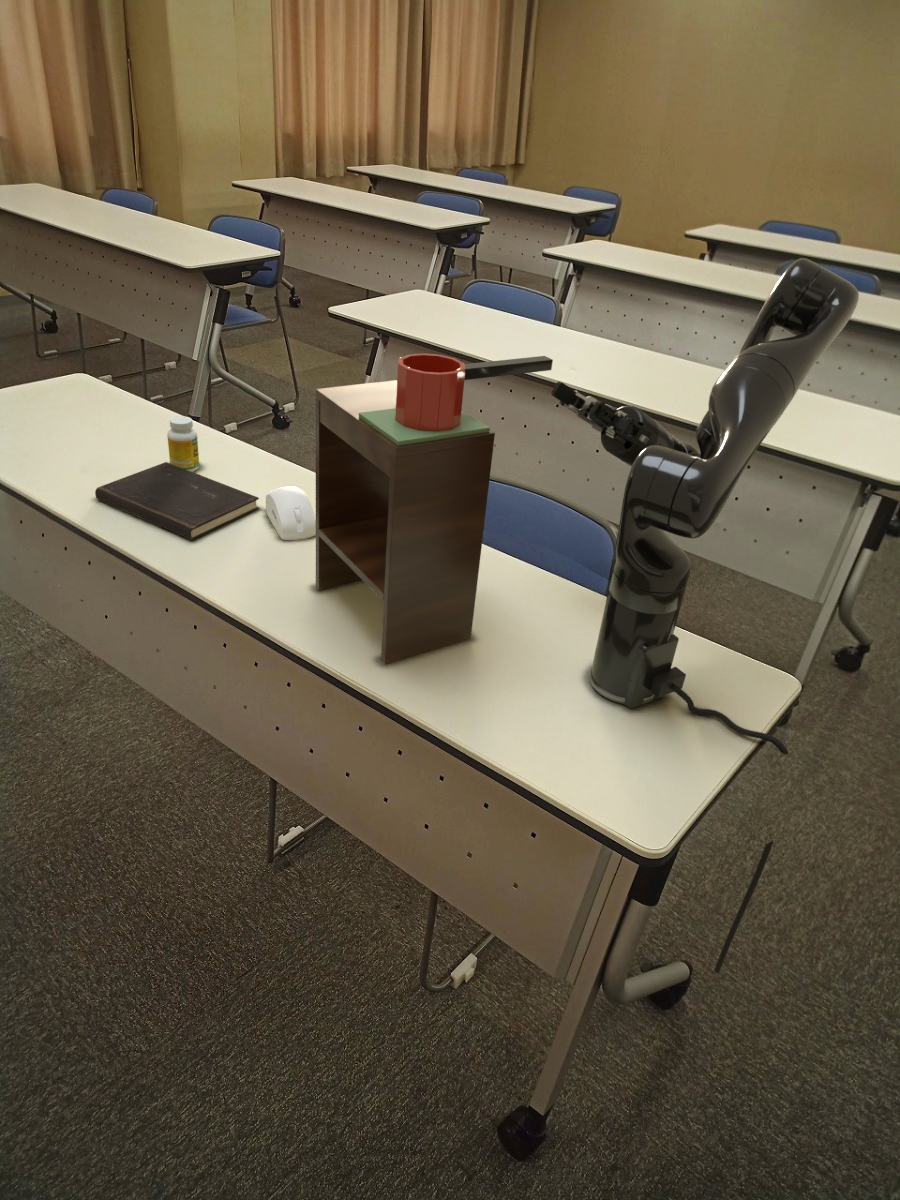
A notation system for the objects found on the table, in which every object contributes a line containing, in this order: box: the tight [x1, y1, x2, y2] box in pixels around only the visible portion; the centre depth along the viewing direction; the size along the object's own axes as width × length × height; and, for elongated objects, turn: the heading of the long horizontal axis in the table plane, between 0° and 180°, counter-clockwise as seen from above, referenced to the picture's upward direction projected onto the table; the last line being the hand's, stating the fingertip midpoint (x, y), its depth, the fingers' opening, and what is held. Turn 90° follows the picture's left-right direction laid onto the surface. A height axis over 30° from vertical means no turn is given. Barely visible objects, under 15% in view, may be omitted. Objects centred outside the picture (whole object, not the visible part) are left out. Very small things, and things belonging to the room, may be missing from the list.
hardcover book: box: [94, 461, 260, 541], centre depth 148 cm, size 16×23×2 cm
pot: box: [395, 352, 554, 432], centre depth 106 cm, size 8×22×7 cm, turn 122°
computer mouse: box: [265, 485, 316, 541], centre depth 144 cm, size 6×13×6 cm, turn 24°
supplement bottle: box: [166, 415, 200, 472], centre depth 159 cm, size 5×5×10 cm
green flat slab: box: [359, 408, 491, 446], centre depth 105 cm, size 10×13×1 cm
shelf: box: [315, 379, 496, 665], centre depth 117 cm, size 22×14×31 cm, turn 32°
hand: (574, 397), depth 116 cm, fingers open, 8 cm apart
